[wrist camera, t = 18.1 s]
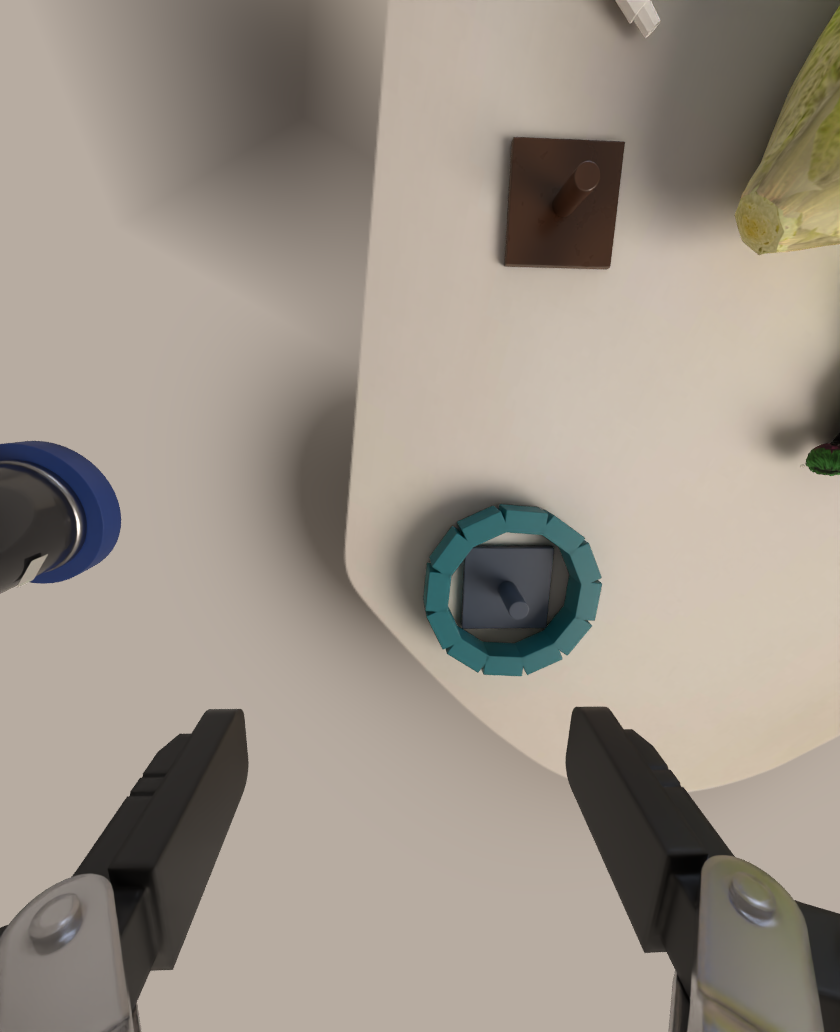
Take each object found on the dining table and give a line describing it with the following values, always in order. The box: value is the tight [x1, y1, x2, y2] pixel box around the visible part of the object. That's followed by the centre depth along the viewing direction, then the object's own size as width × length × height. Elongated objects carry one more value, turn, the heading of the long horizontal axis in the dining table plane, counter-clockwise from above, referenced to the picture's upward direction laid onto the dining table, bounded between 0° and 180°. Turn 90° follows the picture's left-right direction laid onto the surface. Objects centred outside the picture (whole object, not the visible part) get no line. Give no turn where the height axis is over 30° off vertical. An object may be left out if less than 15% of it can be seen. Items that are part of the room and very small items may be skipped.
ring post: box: [504, 137, 625, 269], centre depth 28 cm, size 8×8×4 cm
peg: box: [461, 546, 554, 629], centre depth 35 cm, size 8×8×4 cm
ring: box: [423, 504, 602, 676], centre depth 36 cm, size 14×14×2 cm
